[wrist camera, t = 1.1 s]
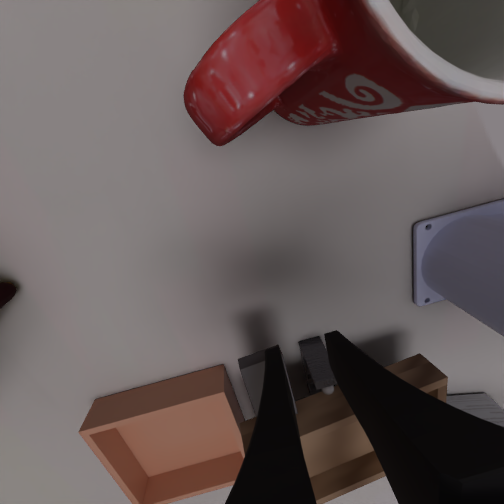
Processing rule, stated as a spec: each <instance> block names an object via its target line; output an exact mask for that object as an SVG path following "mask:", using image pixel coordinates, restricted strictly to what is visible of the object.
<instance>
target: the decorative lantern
mask: <svg viewBox="0 0 504 504" xmlns="http://www.w3.org/2000/svg"><path fill="white" fill-rule="evenodd" d="M16 291H17V290H16V287H15V286H14V285H13V284H12V283H10V282H1V283H0V309H1V308H2V307H3V306H4V305H5V304H6V303H7V302H9V301H10V300H11V299H12V298H13V297H14V295H15V293H16Z"/></svg>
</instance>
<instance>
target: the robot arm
mask: <svg viewBox="0 0 504 504" xmlns="http://www.w3.org/2000/svg"><path fill="white" fill-rule="evenodd" d="M426 225H428V227H427V228H426V229H425V227H426ZM413 237H414V303H415V304H416V305H417V306H424V305H428V304H431V303H435V302H438V301H442V300H446V299H447V300H449V301H450V302H452V303H453V304H455V305H456V306H458V307H459V308H461V309H462V310H464V311H465V312H467V313H468V314H470V315H472V316H473V317H475V318H476V319H478V320H479V321H481V322H482V323H484V324H485V325H487V326H488V327H490V328H492V329H493V330H495V331H496V332H498V333H499V334H501V335H502V336H504V199H502V200H498V201H495V202H491V203H487V204H483V205H480V206H476V207H472V208H469V209H465V210H461V211H458V212H454V213H450V214H446V215H443V216H439V217H435V218H432V219H428V220H424V221H421V222H418V223H416V224H415V226H414V229H413ZM426 298H427V299H426ZM425 299H426V300H425ZM324 335H325V341H326V347H327V353H328V359H329V364H330V367H331V370H332V372H333V374H334V377H335V379H336V381H337V383H338V386H339V388H340V389H341V391H342V393H343V395H344V396H345V398H346V400H347V402H348V404H349V405H350V407H351V409H352V411H353V412H354V414H355V416H356V418H357V419H358V421H359V423H360V425H361V426H362V428H363V430H364V432H365V433H366V435H367V437H368V439H369V441H370V443H371V445H372V447H373V449H374V451H375V453H376V455H377V457H378V460H379V462H380V464H381V466H382V468H383V470H384V473H385V475H386V477H387V479H388V481H389V483H390V486H391V488H392V490H393V492H394V494H395V497H396V499H397V501H398V503H399V504H504V427H502V426H500V425H497V424H494V423H492V422H489V421H486V420H484V419H481V418H479V417H476V416H474V415H472V414H469V413H467V412H465V411H462V410H460V409H458V408H456V407H454V406H451V405H449V404H447V403H445V402H443V401H441V400H439V399H437V398H435V397H433V396H431V395H429V394H427V393H425V392H424V391H422V390H420V389H418V388H416V387H415V386H413V385H411V384H409V383H408V382H406V381H404V380H403V379H401V378H400V377H398V376H396V375H395V374H393V373H392V372H390V371H389V370H387V369H386V368H384V367H383V366H381V365H380V364H379V363H377V362H376V361H374V360H373V359H372V358H370V357H369V356H368V355H366V354H365V353H364V352H362V351H361V350H360V349H359V348H357V347H356V346H355V345H354V344H352V343H351V342H350V341H349V340H348V339H347V338H345V337H344V336H343V335H342V334H341V333H340V332H338V331H337V330H336V331H333V332H329V333H325V334H324ZM264 353H265V372H264V381H263V389H262V395H261V400H260V405H259V410H258V414H257V418H256V422H255V426H254V430H253V433H252V436H251V439H250V443H249V446H248V449H247V452H246V455H245V457H244V460H243V463H242V465H241V468H240V470H239V473H238V475H237V478H236V480H235V483H234V485H233V487H232V490H231V492H230V494H229V496H228V498H227V500H226V503H225V504H317V503H316V499H315V495H314V492H313V488H312V484H311V481H310V477H309V473H308V470H307V466H306V462H305V459H304V454H303V450H302V444H301V439H300V434H299V429H298V424H297V419H296V413H295V408H294V403H293V398H292V395H291V391H290V387H289V383H288V379H287V375H286V371H285V368H284V364H283V360H282V356H281V353H280V350H279V347H274V348H271V349H267V350H266V351H265V352H264Z"/></svg>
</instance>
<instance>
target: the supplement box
mask: <svg viewBox="0 0 504 504" xmlns="http://www.w3.org/2000/svg"><path fill="white" fill-rule="evenodd" d="M446 403H447V404H449V405H451V406H454V407H456V408H458V409H460V410H462V411H465V412H467V413H469V414H472V415H474V416H476V417H479V418H481V419H484V420H486V421H489V422H492V423H494V424H497V425H500V426H502V427H504V409H502V408H501V407H500V406H499V405H498V404H497V403H496V402H495V401H494V400H493V399H492V398H491V397H489V396H488V395H487V394H486V393H482V394H467V395H453V396H447V398H446Z"/></svg>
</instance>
